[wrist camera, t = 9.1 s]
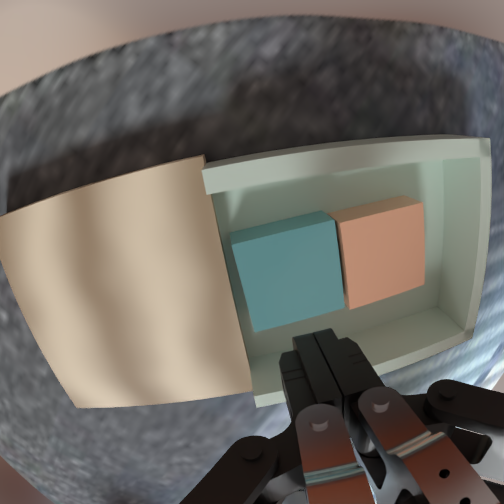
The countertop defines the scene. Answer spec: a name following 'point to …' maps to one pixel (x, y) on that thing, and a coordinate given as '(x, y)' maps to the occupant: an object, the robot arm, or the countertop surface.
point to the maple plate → (129, 289)
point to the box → (359, 193)
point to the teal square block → (289, 269)
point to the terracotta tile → (380, 249)
